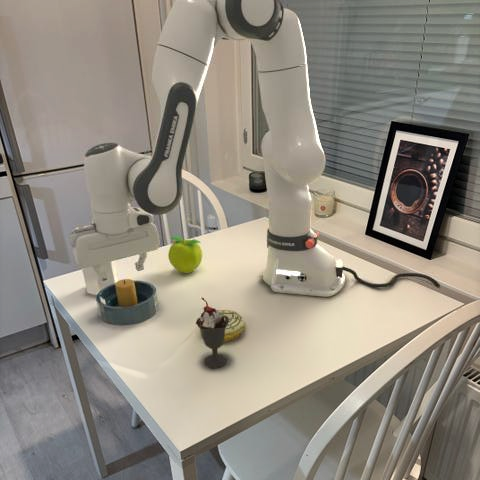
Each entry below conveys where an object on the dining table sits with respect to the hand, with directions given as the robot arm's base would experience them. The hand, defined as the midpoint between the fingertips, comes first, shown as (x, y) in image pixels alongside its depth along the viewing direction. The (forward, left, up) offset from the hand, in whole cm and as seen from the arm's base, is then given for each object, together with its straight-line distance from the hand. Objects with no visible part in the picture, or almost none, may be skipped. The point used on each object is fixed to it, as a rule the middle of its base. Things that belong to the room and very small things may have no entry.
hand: (121, 274), depth 118 cm
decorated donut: (-26, -1, -11) cm, 28 cm away
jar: (+14, -7, -11) cm, 19 cm away
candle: (0, 0, -10) cm, 10 cm away
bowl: (0, 0, -10) cm, 10 cm away
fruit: (-1, -26, -11) cm, 28 cm away
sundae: (-30, +10, -11) cm, 33 cm away
